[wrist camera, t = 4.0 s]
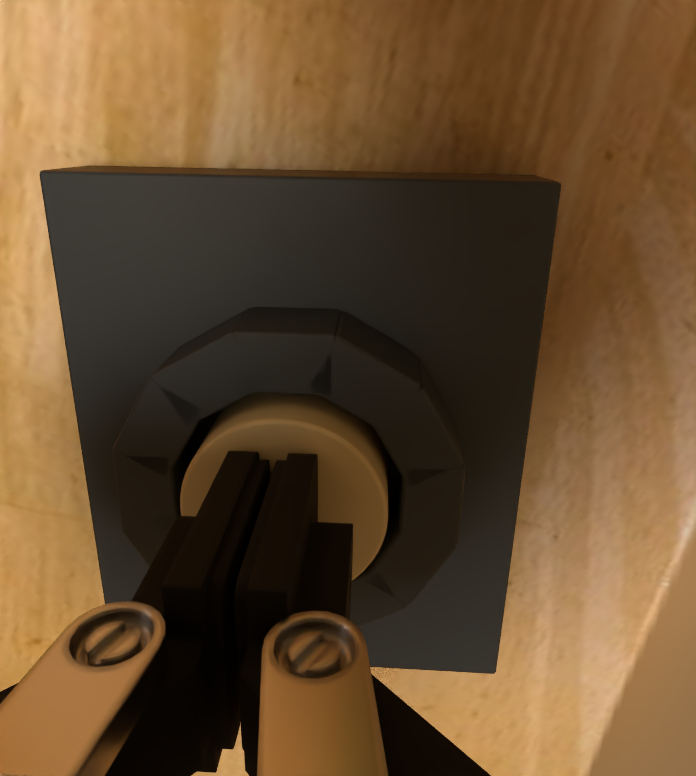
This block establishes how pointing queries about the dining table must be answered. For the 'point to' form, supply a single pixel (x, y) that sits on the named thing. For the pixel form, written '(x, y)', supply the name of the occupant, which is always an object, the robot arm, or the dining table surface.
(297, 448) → the tan button cap
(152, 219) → the button housing
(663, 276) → the dining table surface
